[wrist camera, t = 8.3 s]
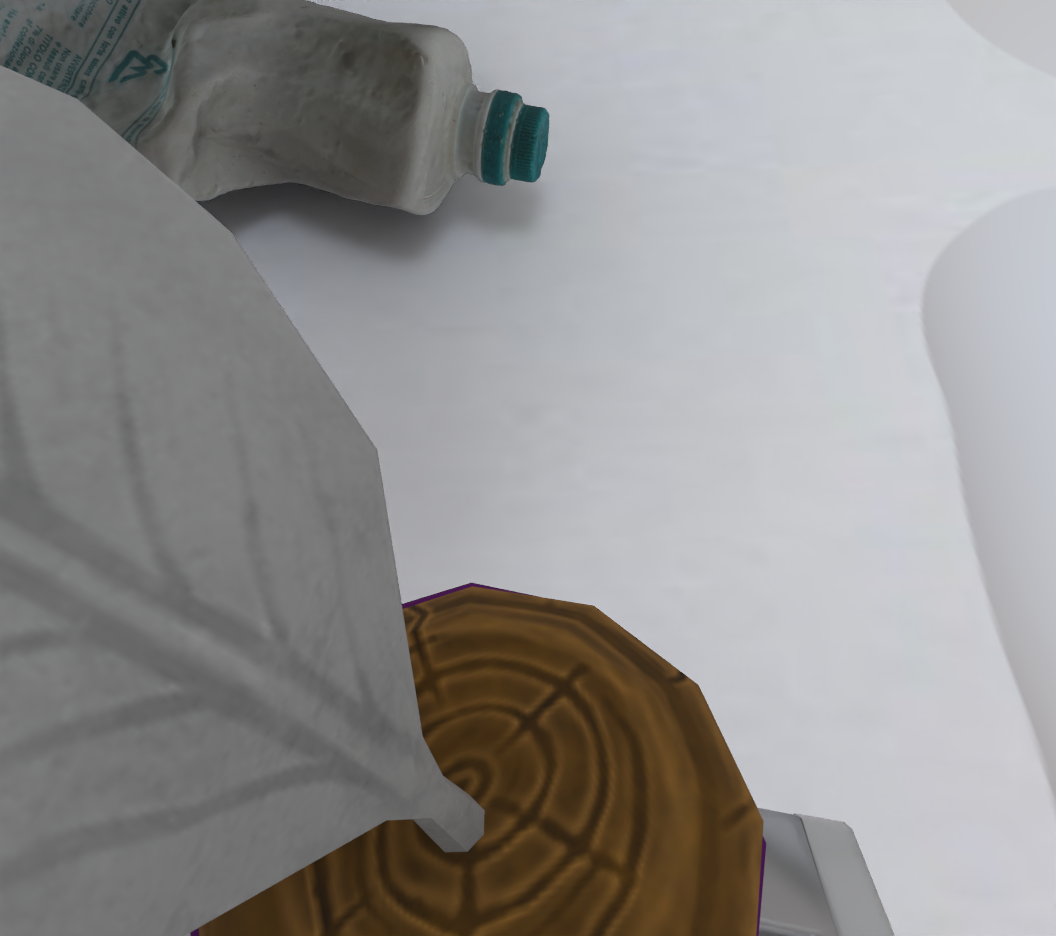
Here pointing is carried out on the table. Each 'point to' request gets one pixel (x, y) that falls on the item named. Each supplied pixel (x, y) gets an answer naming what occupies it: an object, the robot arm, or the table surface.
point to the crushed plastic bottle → (279, 95)
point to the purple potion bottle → (285, 630)
